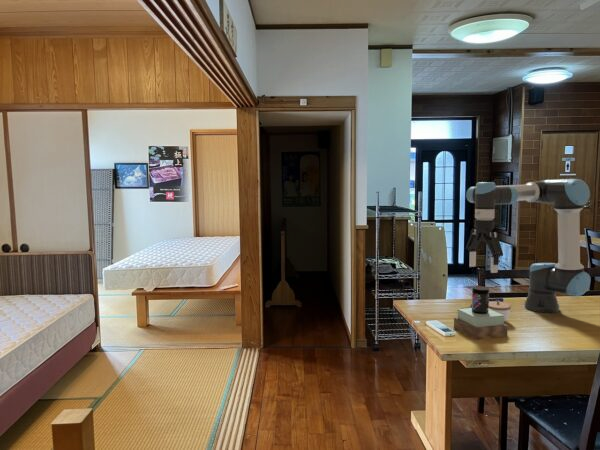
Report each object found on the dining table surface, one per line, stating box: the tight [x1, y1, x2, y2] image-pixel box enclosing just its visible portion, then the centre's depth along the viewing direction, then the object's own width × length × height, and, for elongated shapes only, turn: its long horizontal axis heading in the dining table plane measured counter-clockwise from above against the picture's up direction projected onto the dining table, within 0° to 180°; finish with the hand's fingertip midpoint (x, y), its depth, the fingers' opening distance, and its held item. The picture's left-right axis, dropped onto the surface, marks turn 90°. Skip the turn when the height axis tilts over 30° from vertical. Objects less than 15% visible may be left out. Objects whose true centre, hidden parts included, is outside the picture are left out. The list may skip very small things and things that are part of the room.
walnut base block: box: [453, 316, 509, 340], centre depth 182 cm, size 15×15×5 cm
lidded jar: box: [489, 301, 512, 322], centre depth 196 cm, size 11×11×9 cm
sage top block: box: [457, 307, 505, 327], centre depth 182 cm, size 13×13×4 cm
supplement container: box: [471, 285, 490, 314], centre depth 182 cm, size 7×7×10 cm
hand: (482, 269), depth 180 cm, fingers open, 13 cm apart
